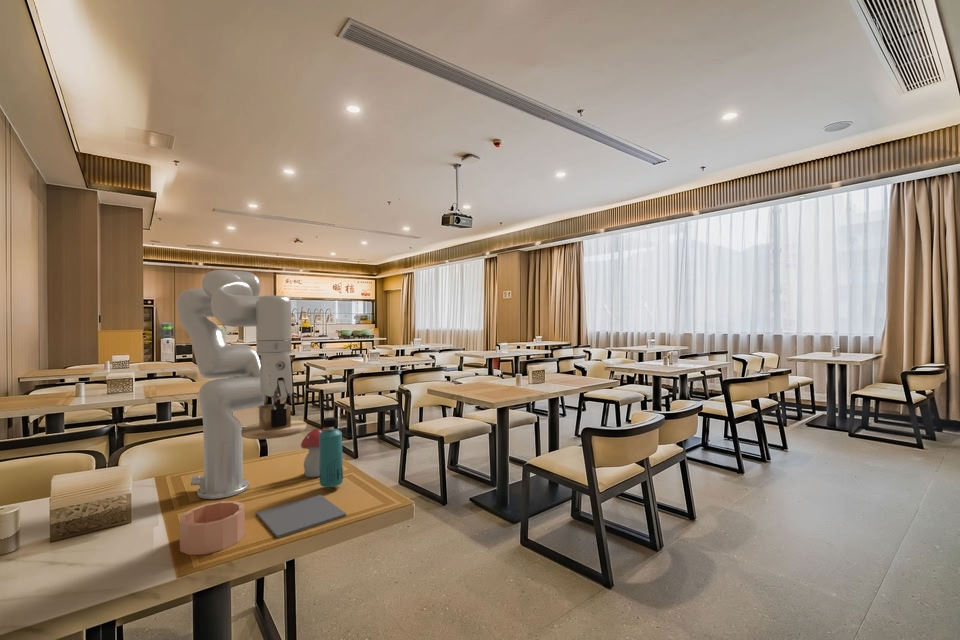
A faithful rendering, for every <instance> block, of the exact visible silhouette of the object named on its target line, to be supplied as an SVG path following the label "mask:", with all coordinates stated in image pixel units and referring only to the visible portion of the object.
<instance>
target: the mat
mask: <svg viewBox="0 0 960 640" xmlns="http://www.w3.org/2000/svg"><path fill="white" fill-rule="evenodd" d="M256 516H257V517H258V518H259V520H260V521H261V522H262V523H263V524H264V525H265V526H266V527H267V529H268V530H270V532H271V533H272V534H273V535H274V536H275V538H277V539H280V538H283V537H285V536H289V535H292V534H295V533H298V532H301V531H304V530H307V529H310V528H311V529H312V528H313V527H316V526H317V527H318V526H320V525H323V524H326V523H329V522H332V521H335V520H338V519H342V518H345V517H347V513H346V512H344V510H342V509H341V508H340V507H338V506H337V505H336V504H334V503H333V502H331V501H330V500H329V499H327V498H326V497H325V496H323V495H321V494H317V495H313V496H310V497H305V498H303V499H302V498H301V499H298V500H296V501H291V502H288V503H284V504H281V505H278V506H274V507H270V508H267V509H263V510H260V511H256Z"/></svg>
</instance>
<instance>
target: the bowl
mask: <svg viewBox="0 0 960 640" xmlns="http://www.w3.org/2000/svg"><path fill="white" fill-rule="evenodd" d="M245 511H246V510H245V504H244V503H242V502H239V501H236V500H222V501H217V502H210V503H205V504H202V505H200V506H196V507H194V508H191V509H189V510H187V511H186V512H185V513H184V514H182V515H180V516H179V552H181V553H184V554H186V555H187V556H189V555H191V556H192V555H195V556H197V555H206V554H207V555H208V554H212V553H216V552H220V551H223V550H225V549H228V548H230V547H232V546H235V545H237V544H238V543H239V542H240V541H241V540H242V539H243V538H244V537H245V536H246V516H245V515H246V512H245Z"/></svg>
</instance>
